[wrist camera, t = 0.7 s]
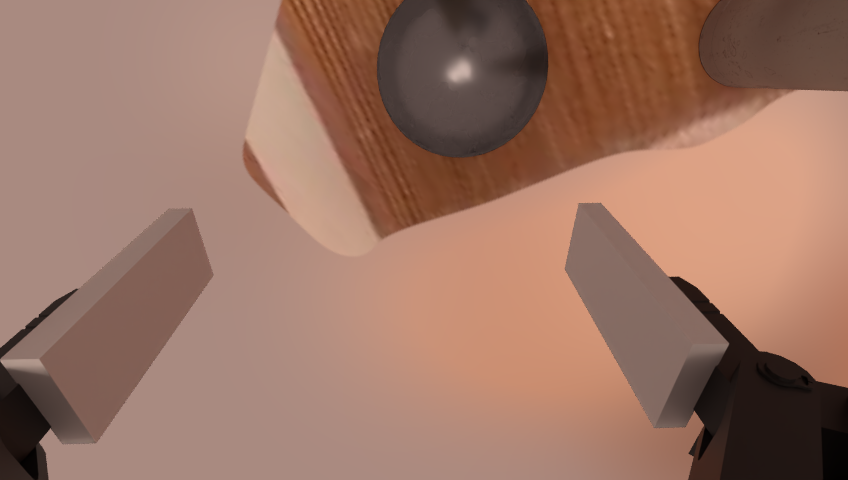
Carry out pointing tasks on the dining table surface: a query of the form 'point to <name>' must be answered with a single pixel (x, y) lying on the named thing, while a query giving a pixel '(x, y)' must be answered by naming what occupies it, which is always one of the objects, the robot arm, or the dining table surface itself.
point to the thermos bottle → (777, 44)
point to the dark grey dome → (462, 72)
